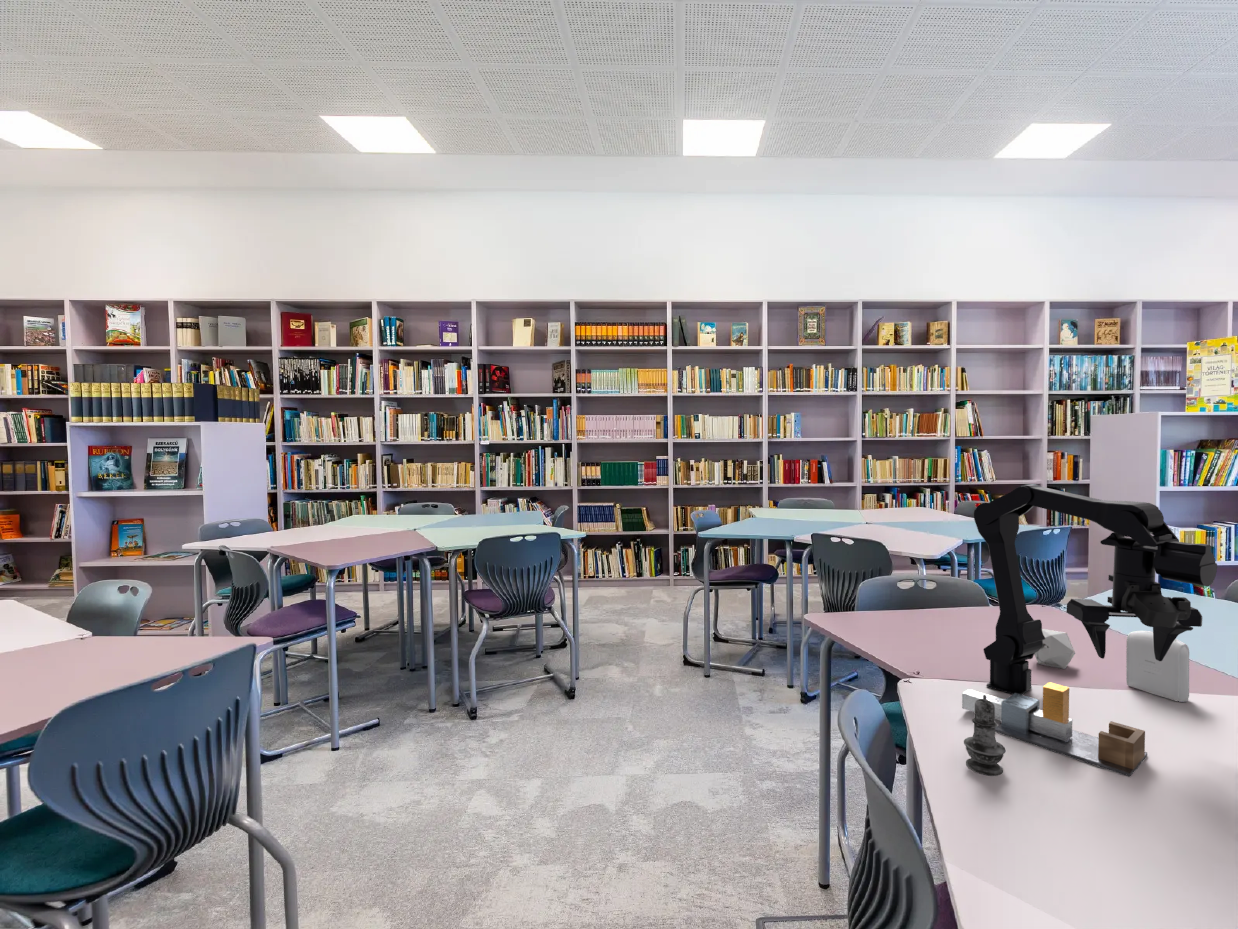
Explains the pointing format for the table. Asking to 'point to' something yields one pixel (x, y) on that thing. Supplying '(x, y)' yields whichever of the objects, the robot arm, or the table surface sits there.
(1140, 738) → the socket block
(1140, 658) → the photo printer
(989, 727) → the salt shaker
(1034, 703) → the long dark base plate
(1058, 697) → the silver bar
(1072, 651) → the die
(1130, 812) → the table surface
